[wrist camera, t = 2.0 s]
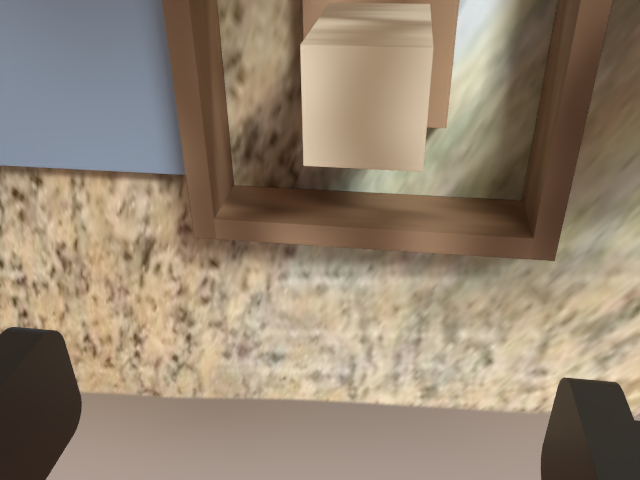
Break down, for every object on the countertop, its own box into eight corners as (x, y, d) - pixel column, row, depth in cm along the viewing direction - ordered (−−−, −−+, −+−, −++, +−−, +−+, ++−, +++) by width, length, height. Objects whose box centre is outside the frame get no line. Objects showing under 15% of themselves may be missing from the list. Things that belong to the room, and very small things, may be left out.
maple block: (329, 99, 30) (303, 165, 23) (329, 2, 28) (300, 44, 21) (422, 102, 29) (423, 171, 23) (429, 4, 27) (433, 48, 20)
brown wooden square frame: (215, 203, 36) (194, 237, 32) (173, -177, 26) (136, -185, 23) (540, 221, 33) (554, 260, 30) (623, -188, 24) (657, -198, 20)
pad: (-28, 156, 36) (-38, 163, 35) (-117, -115, 29) (-134, -114, 28) (198, 167, 35) (192, 175, 34) (162, -118, 27) (154, -118, 27)
